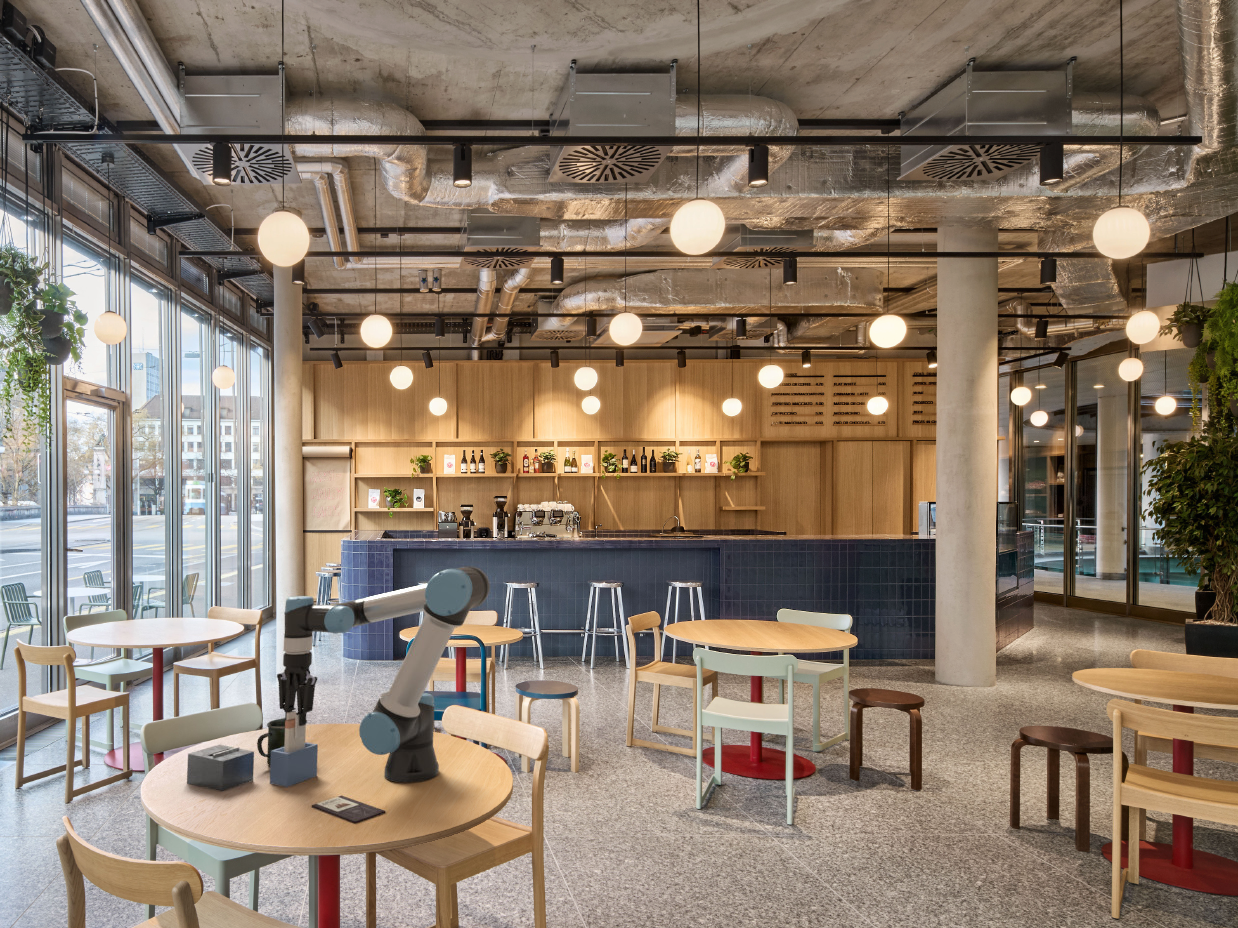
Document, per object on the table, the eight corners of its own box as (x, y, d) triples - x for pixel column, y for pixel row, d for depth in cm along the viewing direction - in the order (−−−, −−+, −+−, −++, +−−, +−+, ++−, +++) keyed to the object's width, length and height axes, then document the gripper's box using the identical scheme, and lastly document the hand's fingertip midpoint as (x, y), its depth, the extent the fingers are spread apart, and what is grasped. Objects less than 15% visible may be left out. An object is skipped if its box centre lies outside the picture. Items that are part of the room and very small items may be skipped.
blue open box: (316, 775, 235) (317, 744, 235) (286, 786, 225) (288, 754, 226) (299, 772, 238) (300, 741, 238) (269, 783, 228) (270, 750, 228)
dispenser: (253, 780, 230) (254, 748, 230) (221, 791, 221) (223, 758, 221) (218, 772, 236) (219, 741, 236) (186, 783, 227) (188, 750, 228)
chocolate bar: (355, 821, 200) (311, 804, 211) (355, 825, 200) (311, 808, 211) (385, 810, 207) (341, 795, 218) (385, 814, 207) (341, 798, 218)
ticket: (304, 773, 234) (306, 716, 235) (287, 779, 228) (289, 721, 229) (300, 772, 234) (302, 715, 235) (283, 779, 229) (285, 720, 230)
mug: (313, 761, 247) (314, 721, 248) (267, 774, 236) (268, 731, 236) (292, 754, 254) (294, 715, 254) (247, 766, 242) (248, 724, 243)
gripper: (328, 652, 233) (326, 736, 232) (288, 647, 240) (285, 729, 239) (308, 656, 226) (305, 743, 225) (266, 651, 233) (264, 735, 232)
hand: (295, 735), depth 232 cm, fingers open, 3 cm apart
